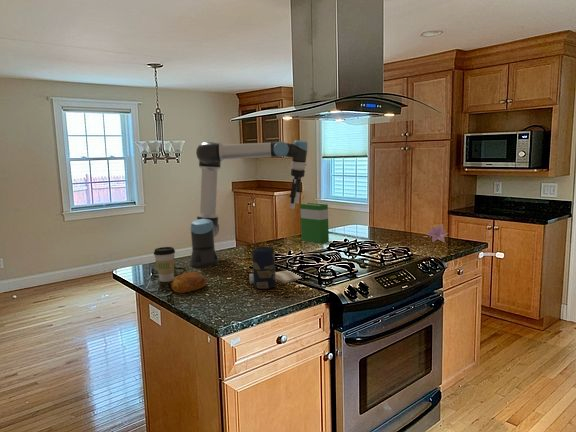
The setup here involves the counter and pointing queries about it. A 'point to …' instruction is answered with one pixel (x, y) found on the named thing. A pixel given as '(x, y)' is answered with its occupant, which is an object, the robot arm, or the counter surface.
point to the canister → (264, 267)
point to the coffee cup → (165, 263)
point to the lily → (437, 233)
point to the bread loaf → (188, 282)
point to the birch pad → (286, 276)
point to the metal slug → (251, 278)
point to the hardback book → (314, 223)
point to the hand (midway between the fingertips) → (294, 206)
